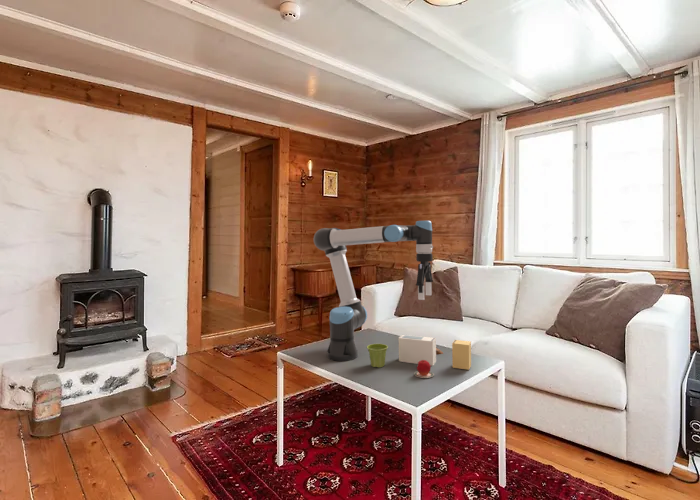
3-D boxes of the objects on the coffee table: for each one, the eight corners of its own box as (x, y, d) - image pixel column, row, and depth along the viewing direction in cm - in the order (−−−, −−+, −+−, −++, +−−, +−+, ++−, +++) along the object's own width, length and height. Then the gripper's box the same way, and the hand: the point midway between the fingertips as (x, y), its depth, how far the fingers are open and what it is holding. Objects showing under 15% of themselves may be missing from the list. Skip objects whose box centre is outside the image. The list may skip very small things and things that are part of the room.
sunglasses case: (445, 353, 184) (439, 342, 183) (434, 362, 183) (428, 351, 181) (426, 343, 201) (421, 334, 200) (417, 351, 200) (411, 341, 198)
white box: (398, 361, 175) (398, 337, 174) (402, 357, 180) (402, 334, 180) (433, 365, 168) (432, 341, 167) (436, 361, 173) (435, 337, 173)
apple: (421, 380, 151) (421, 364, 151) (410, 373, 159) (410, 358, 158) (437, 376, 154) (437, 361, 154) (426, 370, 162) (426, 355, 162)
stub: (452, 367, 164) (452, 343, 163) (455, 363, 169) (454, 339, 169) (469, 369, 161) (468, 344, 160) (471, 365, 166) (470, 341, 166)
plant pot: (374, 370, 163) (373, 351, 163) (363, 364, 172) (363, 345, 171) (392, 366, 167) (391, 347, 167) (381, 360, 176) (380, 342, 176)
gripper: (425, 254, 166) (426, 302, 166) (438, 251, 188) (438, 293, 189) (409, 254, 169) (409, 301, 170) (423, 251, 191) (424, 293, 192)
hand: (425, 297), depth 179 cm, fingers open, 13 cm apart
